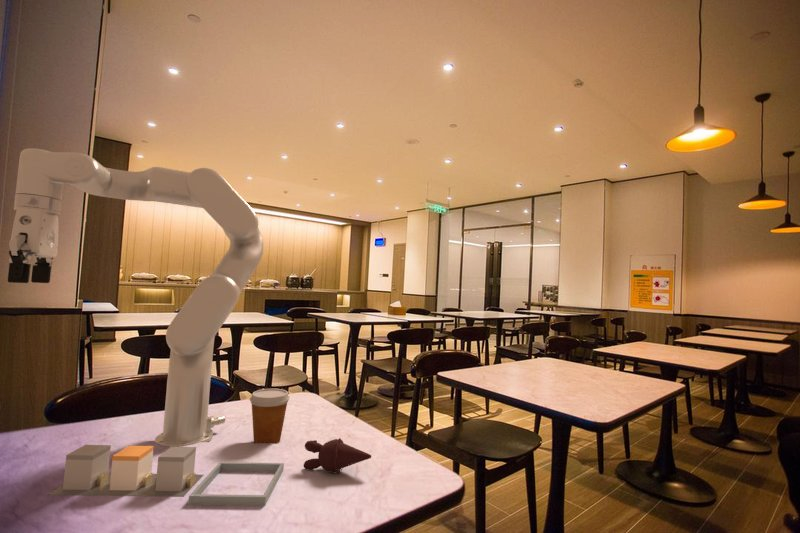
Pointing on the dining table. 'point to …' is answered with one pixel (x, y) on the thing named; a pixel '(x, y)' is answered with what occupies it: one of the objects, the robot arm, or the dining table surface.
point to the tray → (251, 500)
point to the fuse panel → (144, 490)
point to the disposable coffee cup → (268, 414)
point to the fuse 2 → (175, 468)
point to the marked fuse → (131, 467)
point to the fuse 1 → (86, 466)
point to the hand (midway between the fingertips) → (29, 282)
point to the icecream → (333, 455)
